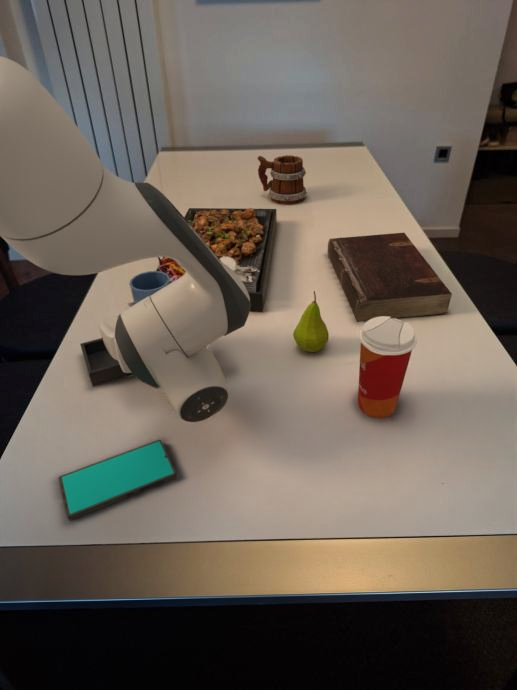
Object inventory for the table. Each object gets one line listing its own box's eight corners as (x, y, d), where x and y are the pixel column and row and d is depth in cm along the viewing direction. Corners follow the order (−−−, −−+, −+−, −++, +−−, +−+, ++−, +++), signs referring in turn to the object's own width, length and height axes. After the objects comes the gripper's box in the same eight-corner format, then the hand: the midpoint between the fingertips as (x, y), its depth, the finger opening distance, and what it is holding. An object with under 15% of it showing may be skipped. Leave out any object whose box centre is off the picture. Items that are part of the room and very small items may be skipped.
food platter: (262, 311, 103) (261, 267, 97) (148, 308, 105) (139, 265, 99) (276, 223, 139) (276, 187, 133) (190, 222, 141) (186, 187, 135)
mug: (310, 204, 149) (302, 154, 140) (263, 212, 151) (253, 163, 143) (309, 190, 158) (302, 142, 150) (265, 198, 161) (256, 151, 152)
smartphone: (57, 476, 69) (160, 438, 74) (59, 480, 70) (161, 442, 75) (66, 517, 64) (176, 474, 69) (68, 521, 65) (177, 477, 70)
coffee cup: (364, 381, 85) (374, 308, 76) (410, 400, 81) (426, 325, 72) (341, 410, 80) (349, 335, 71) (389, 431, 76) (404, 354, 67)
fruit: (300, 361, 90) (301, 305, 83) (289, 342, 95) (290, 287, 88) (333, 354, 91) (337, 299, 84) (320, 336, 96) (324, 282, 89)
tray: (92, 387, 86) (88, 373, 84) (84, 356, 93) (80, 343, 91) (193, 357, 92) (191, 344, 90) (178, 331, 99) (176, 318, 97)
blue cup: (145, 343, 87) (134, 294, 81) (136, 323, 92) (125, 276, 86) (182, 333, 89) (174, 284, 83) (171, 314, 94) (163, 267, 88)
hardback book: (327, 256, 123) (328, 237, 120) (401, 251, 124) (404, 232, 121) (355, 321, 100) (358, 300, 97) (446, 314, 101) (451, 293, 98)
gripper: (234, 310, 79) (206, 272, 89) (104, 343, 73) (90, 298, 83) (236, 341, 83) (209, 302, 93) (113, 376, 77) (99, 329, 87)
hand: (152, 300), depth 88 cm, fingers closed on blue cup, 7 cm apart
